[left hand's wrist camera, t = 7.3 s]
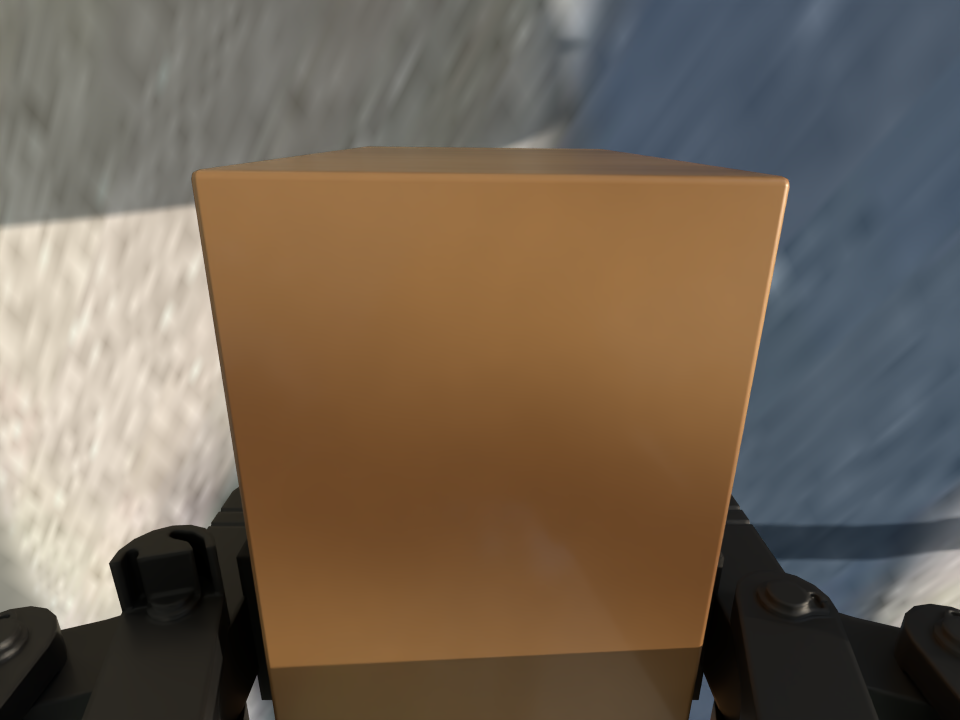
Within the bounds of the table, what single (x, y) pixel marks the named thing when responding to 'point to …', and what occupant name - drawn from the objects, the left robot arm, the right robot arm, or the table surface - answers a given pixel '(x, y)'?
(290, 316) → the beam
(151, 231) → the table surface
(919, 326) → the table surface
